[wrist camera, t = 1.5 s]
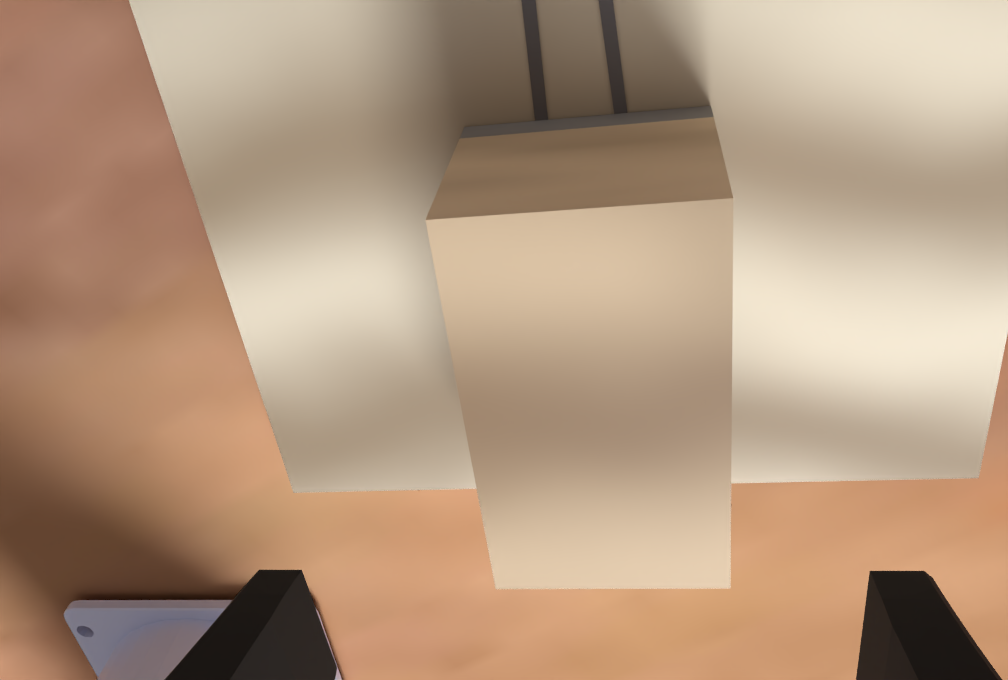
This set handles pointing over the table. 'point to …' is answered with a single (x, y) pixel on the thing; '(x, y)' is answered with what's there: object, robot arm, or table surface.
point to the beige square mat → (590, 92)
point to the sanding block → (594, 345)
